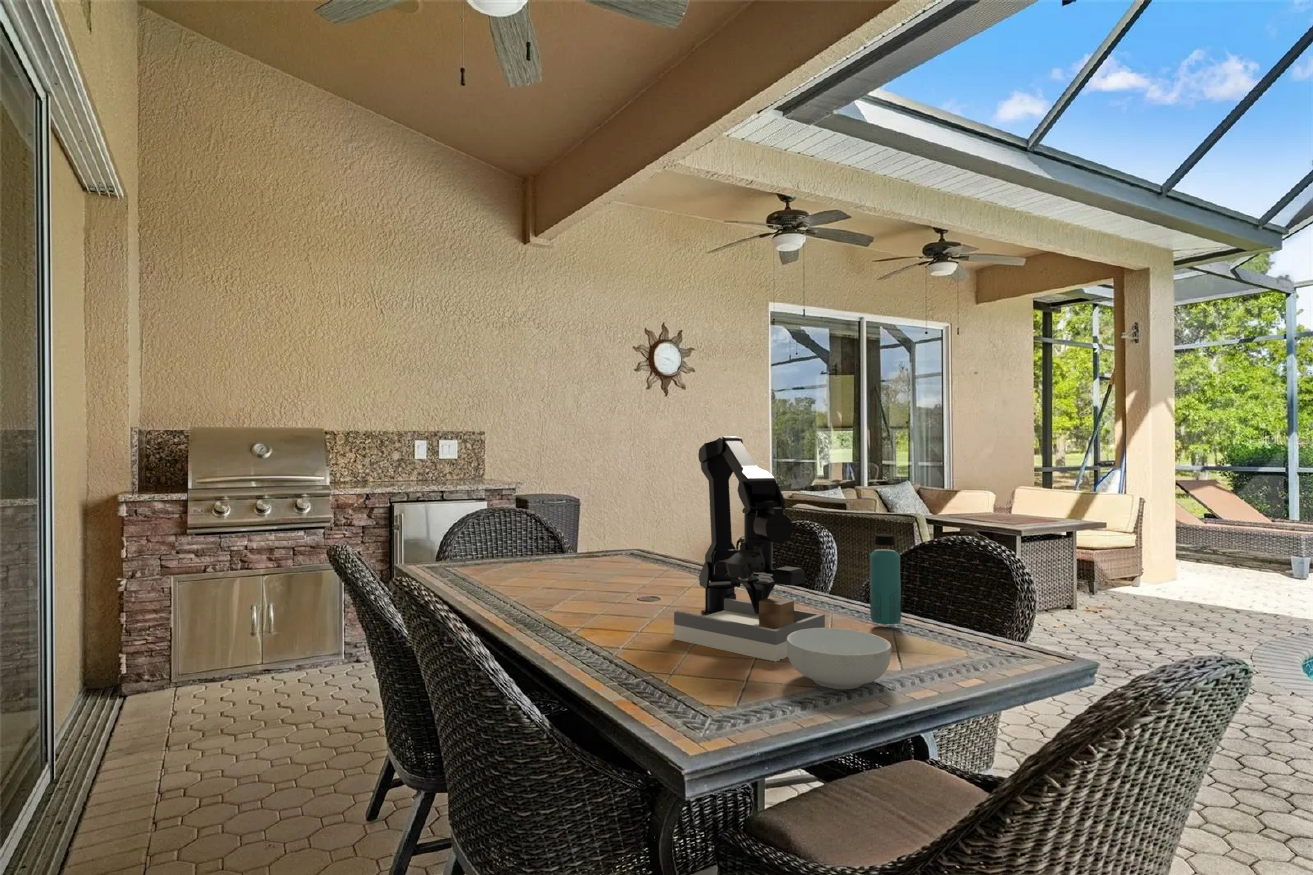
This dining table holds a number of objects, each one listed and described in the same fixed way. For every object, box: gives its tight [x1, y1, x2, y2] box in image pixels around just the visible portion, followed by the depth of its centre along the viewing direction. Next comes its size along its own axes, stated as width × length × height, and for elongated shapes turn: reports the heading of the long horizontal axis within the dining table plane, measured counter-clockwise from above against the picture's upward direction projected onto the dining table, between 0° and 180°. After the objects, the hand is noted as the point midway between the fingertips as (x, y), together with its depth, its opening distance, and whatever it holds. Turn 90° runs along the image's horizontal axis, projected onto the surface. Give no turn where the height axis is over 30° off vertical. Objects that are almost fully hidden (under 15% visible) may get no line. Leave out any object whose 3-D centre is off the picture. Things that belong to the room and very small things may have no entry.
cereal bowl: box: [786, 627, 892, 690], centre depth 127 cm, size 17×17×7 cm
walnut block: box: [759, 597, 795, 629], centre depth 153 cm, size 5×5×5 cm
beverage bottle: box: [869, 533, 903, 625], centre depth 164 cm, size 6×7×20 cm
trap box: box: [673, 598, 826, 662], centre depth 153 cm, size 24×18×6 cm
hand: (758, 614), depth 156 cm, fingers closed
